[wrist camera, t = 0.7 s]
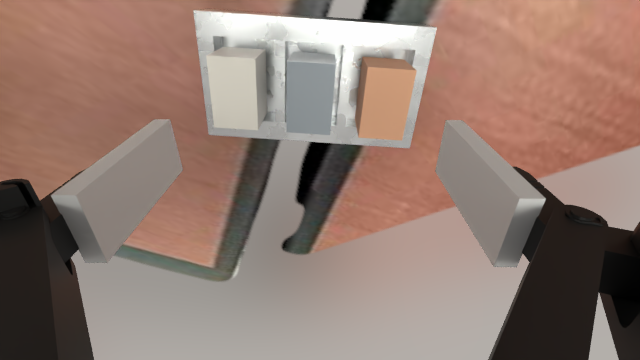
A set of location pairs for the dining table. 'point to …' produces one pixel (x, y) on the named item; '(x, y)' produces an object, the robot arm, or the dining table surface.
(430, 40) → the grey tray
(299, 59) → the slate key
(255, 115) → the cream block
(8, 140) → the dining table surface
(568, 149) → the dining table surface
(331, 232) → the dining table surface
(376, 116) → the orange block
